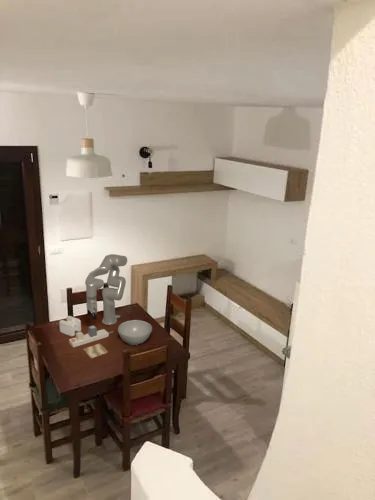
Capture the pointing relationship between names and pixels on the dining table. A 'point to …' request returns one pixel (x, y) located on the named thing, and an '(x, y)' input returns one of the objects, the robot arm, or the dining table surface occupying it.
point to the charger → (92, 331)
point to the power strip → (88, 337)
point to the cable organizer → (70, 326)
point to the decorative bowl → (134, 331)
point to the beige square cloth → (95, 350)
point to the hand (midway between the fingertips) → (91, 317)
